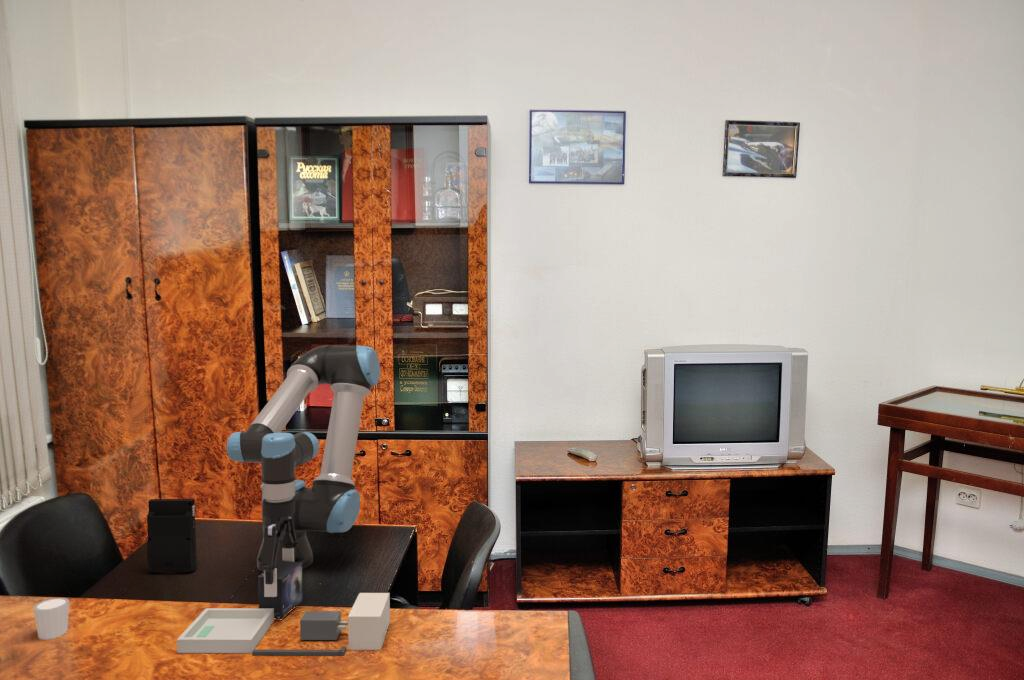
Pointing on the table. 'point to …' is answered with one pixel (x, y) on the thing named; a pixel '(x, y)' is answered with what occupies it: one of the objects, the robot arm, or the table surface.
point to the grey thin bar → (300, 652)
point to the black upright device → (171, 536)
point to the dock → (226, 630)
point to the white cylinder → (51, 618)
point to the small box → (283, 589)
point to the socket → (369, 621)
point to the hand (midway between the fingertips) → (279, 584)
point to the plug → (321, 625)
